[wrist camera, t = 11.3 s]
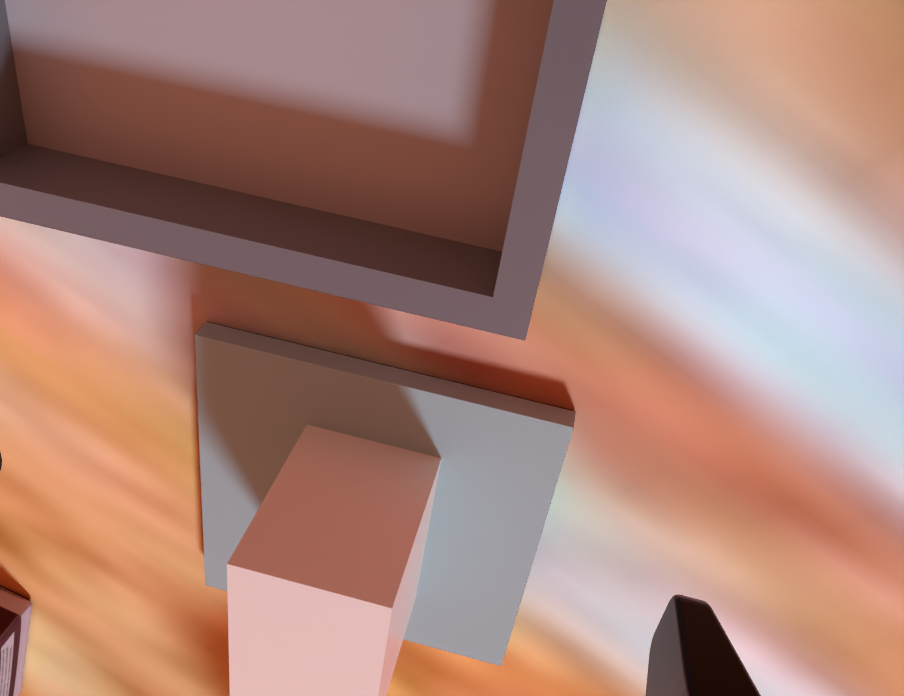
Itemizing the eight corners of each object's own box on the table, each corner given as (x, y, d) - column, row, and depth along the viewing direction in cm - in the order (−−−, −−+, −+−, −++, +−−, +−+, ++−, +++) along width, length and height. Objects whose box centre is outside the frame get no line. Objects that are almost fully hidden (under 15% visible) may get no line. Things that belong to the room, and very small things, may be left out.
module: (441, 457, 25) (392, 608, 20) (415, 598, 29) (368, 753, 24) (306, 424, 26) (226, 563, 21) (299, 567, 30) (230, 713, 25)
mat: (575, 411, 24) (573, 427, 24) (504, 648, 31) (500, 666, 30) (206, 321, 25) (194, 334, 25) (214, 569, 32) (205, 585, 32)
